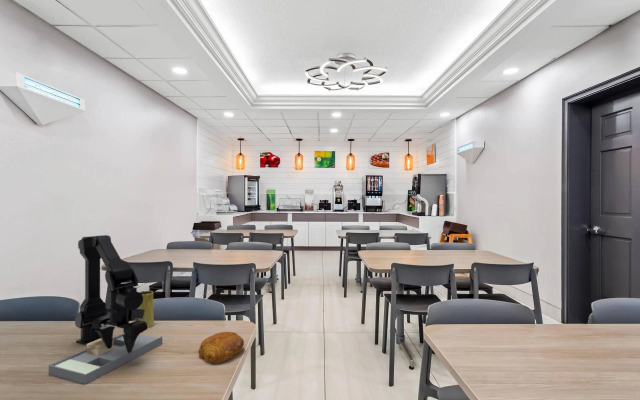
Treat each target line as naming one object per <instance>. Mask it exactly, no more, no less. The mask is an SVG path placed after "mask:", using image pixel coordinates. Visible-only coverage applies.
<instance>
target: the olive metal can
mask: <svg viewBox="0 0 640 400" xmlns="http://www.w3.org/2000/svg"><path fill="white" fill-rule="evenodd" d="M139 293H141V294H142V296H143V302H142V304H141V306H140V307H138V309H145V312H144V316H143V319H140V318H138V320H140V321H145V322H147V329H149V328H151V327H154V325H155V321H154V319H155V318H154V317H155V315H154V291H152V290H144V291H139Z"/></svg>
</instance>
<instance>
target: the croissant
mask: <svg viewBox="0 0 640 400" xmlns="http://www.w3.org/2000/svg"><path fill="white" fill-rule="evenodd" d="M244 344H245V341H244V339H243V338H242V336H241V335H239V334H238V333H237V332H234V331H222V332H217V333H215V334H213V335H210V336H208V337H206V338H205V339H204V340H202V341H201V343H200V345H199V348H198V352H197V353H198V357H199V358H200V359H201V360H205V361H206V362H207V363H210V364H211V363H212V364H214V365H215V364H222V363H224V362H226V361H228V360H229V359H231V358H233V357H234V356H235V355H238V354H239V353H240V351H242V349H243V347H244Z"/></svg>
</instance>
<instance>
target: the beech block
mask: <svg viewBox="0 0 640 400" xmlns="http://www.w3.org/2000/svg"><path fill="white" fill-rule="evenodd" d="M85 346H86V349H85V350H86V353H88V354H92V355H97V356H99V355H101V354H103V353H105V352H108V351H110V350H112V349H114V340H112V347H111V348H110V349H108V348H107V346H106V345H105V343H104V342H103V340H102V339H101V338H100V339H98V340H96V341H93V342H91V343H88V344H85Z"/></svg>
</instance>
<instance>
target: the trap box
mask: <svg viewBox="0 0 640 400" xmlns="http://www.w3.org/2000/svg"><path fill="white" fill-rule="evenodd" d="M123 335H125V333H124V332H123V333H121V334H119V335H117V336H115V337H114V336H113V340H114V349H112V350H110V351H108V352H105V353H103V354H101V355H99V356H97V355H92V354H88V353H86V349H84V350H82V351H80V352H77V353H75V354H73V355H71V356H68V357H65V358H63V359H61V360H58V361H56V362H54V363H52V364H49V365H48V375H50V376H53V377H57V378H60V379H64V380H68V381H71V382H75V383H78V384H82V385H88V384H89V383H91V382H94V381H95V380H96V379H99V378H100V377H103V376H105V375H106V374H108V373H110V372H112V371H113V370H116V369H117V368H120V367H121V366H123V365H125V364H127V363H128V362H130V361H133V360H135V359H136V358H138V357H140V356H143V355H144V354H146V353H148V352H150V351H151V350H153V349H155V348H157V347H159V346H161V345H163V336H160V337H156V336H150V335H146V334H142V333H140V334H139V335H138V337H137V339H136V341H135V344H134V346H133V349H132V352H130V353H128V352H127V349H126V346H125V342H124V338H123Z"/></svg>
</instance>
